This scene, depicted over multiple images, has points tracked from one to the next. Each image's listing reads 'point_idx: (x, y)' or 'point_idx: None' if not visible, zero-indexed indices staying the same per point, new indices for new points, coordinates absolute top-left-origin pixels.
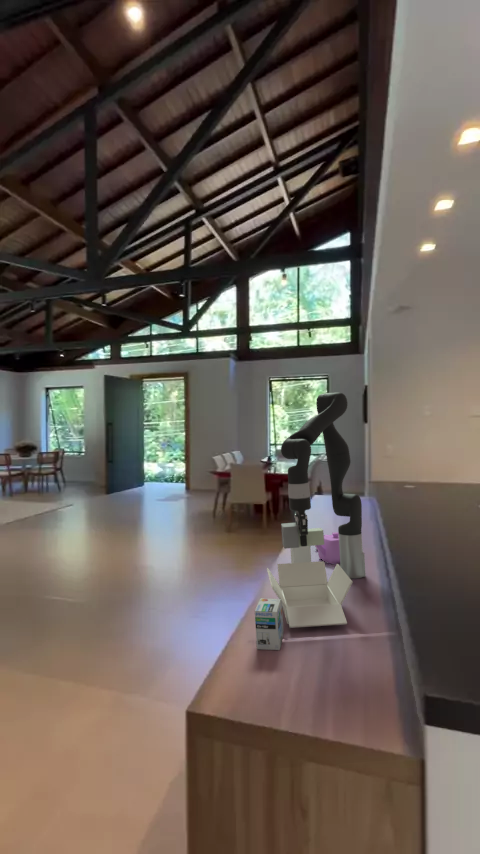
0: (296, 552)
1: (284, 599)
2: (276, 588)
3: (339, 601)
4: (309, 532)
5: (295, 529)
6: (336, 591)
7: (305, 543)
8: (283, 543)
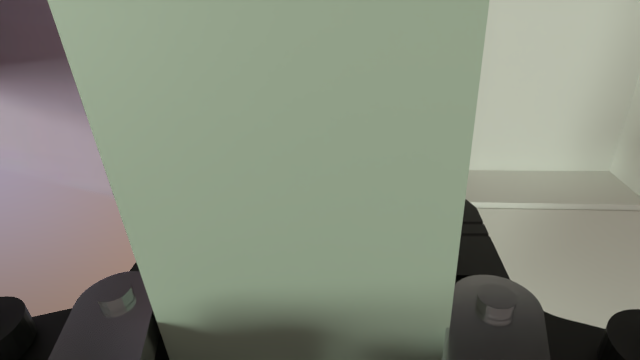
0: None
1: (529, 207)
2: (582, 286)
3: None
4: (450, 241)
5: None
6: None
7: (473, 217)
8: None
